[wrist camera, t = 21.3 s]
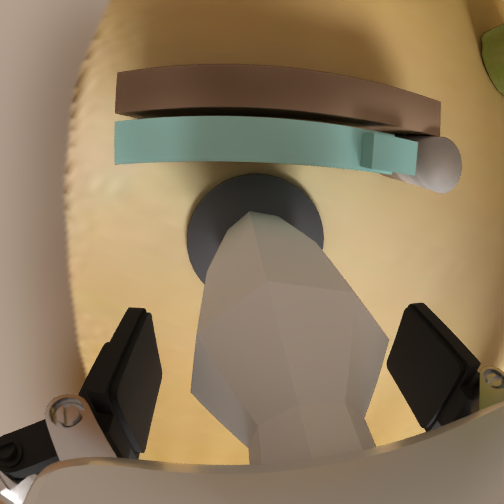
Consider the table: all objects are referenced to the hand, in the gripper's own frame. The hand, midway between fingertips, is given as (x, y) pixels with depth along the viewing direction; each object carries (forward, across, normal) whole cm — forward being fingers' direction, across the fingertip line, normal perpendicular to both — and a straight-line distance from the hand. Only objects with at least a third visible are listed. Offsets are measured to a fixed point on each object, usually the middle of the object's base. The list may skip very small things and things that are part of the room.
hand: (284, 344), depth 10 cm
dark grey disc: (+10, 0, 0) cm, 10 cm away
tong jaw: (+9, 0, -7) cm, 11 cm away
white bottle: (+10, 0, 0) cm, 10 cm away
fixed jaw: (+10, -2, -8) cm, 13 cm away
